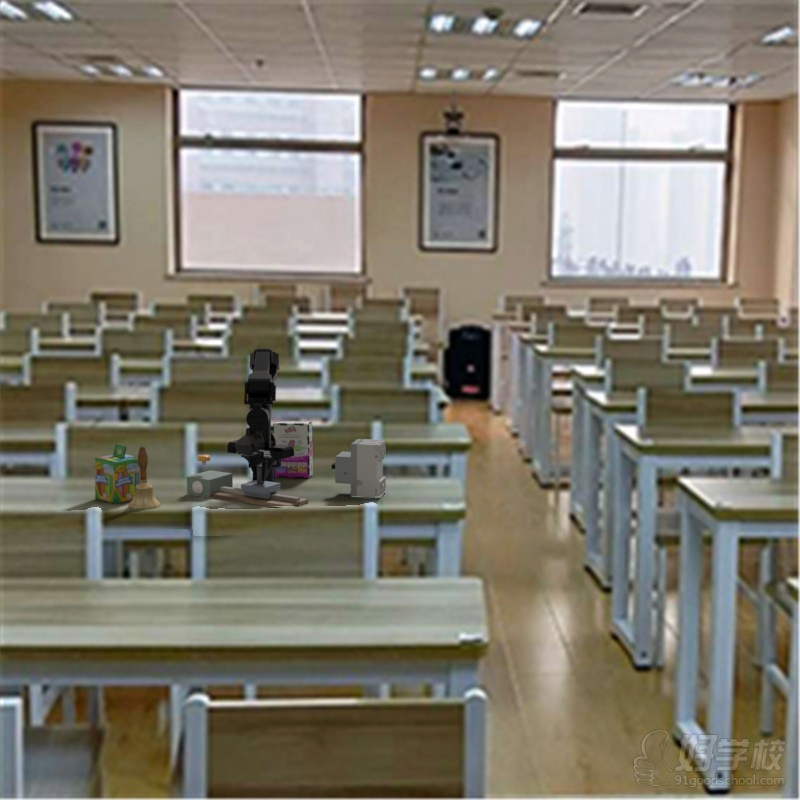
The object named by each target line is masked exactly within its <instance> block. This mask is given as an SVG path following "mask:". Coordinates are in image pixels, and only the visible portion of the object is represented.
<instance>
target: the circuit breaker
mask: <svg viewBox="0 0 800 800" xmlns="http://www.w3.org/2000/svg"><path fill="white" fill-rule="evenodd" d="M386 454H387V446H386V440H385V439H384V440H383V439H369V438H366V439H365V438H357V439H355V441H353V442H352V443H350V451H340V452H339V453H338V454H337V455H336V456H335V457H334V458H335V460H334V463H332V464H331V465H330V466H331V470H335V471H334V481H335V482H334V483H335V484H341V485H342V484H343V485H344V484H345V485H350V498H353V497H352V496H361V497H375V496H380V495H381V494H383V492H384V491H385V492H386V487H387V483H386V482H387V481H386V479H387V477H386V476H384V475H383V474H384V473H383V467H384V466H383V465H384V464H383V463H384V462H383V460H385V456H386Z"/></svg>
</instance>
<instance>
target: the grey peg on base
mask: <svg viewBox="0 0 800 800" xmlns="http://www.w3.org/2000/svg"><path fill="white" fill-rule="evenodd" d="M240 489H241V491H244V495H245V496H252V497H258V498H265V499H270V493H273V494H278V491H280V490H281V482H276V481H275V482H269V481H262V465H257V480H254V481H253V480H251V481H248V482H245V483H241V484H240Z"/></svg>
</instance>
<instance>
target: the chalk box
mask: <svg viewBox="0 0 800 800" xmlns="http://www.w3.org/2000/svg"><path fill="white" fill-rule="evenodd" d="M113 449H114V450H113V454H110V455H103V456H97V457H94V466H95V467H94V468H95V469H94V473H95V477H94V478H95V479H94V483H95V485H94V486H95V487H94V489H95V491H94V492H95V494H94V497H95V500H96V499H97V500H100V501H103V502H108V503H111V504H114V505H116V504H121V503H125V502H131V501H132V500H133V498H134V495H135V487H136V486H137V485H139V484H140V483H141V479H140V478H141V477H140V473H141V472H140V467H139V464H138V456H135V455H132V454H127V453H126V452H127V446H126V445H123V444H118V443H116V444H115V446H114V448H113ZM119 450H121V453H118V451H119Z"/></svg>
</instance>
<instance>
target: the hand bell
mask: <svg viewBox="0 0 800 800" xmlns="http://www.w3.org/2000/svg"><path fill="white" fill-rule="evenodd" d="M137 457H138V464H139V467H140V472H141V473H140V477H141V478H140V479H141V483H140V484H139V485H137V486H136V487H135V495H134V498H133V500H131V501H129V503H128V507H129V508H130V509H134V510H150V509H155V508H158V507H160V506H161V502H160V500H158V499H157V498H156V496H155V492H154V486H153V485H152V484H150V483H149V482H148V477H147V467H148V464H149V462H148V461H149V458H148V457H149V456H148V453H147V450H146V446H139V449H138V454H137Z"/></svg>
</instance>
